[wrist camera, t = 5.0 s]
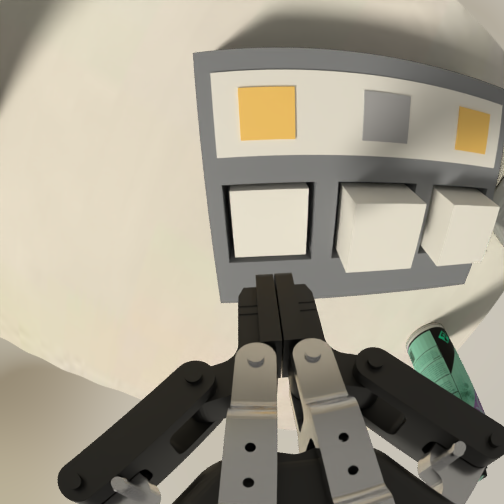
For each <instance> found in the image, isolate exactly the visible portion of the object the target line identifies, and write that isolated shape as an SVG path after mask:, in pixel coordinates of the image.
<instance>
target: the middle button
mask: <svg viewBox="0 0 504 504" xmlns="http://www.w3.org/2000/svg"><path fill="white" fill-rule="evenodd" d="M426 205H427V204H426V203H425V202H424V201H423V200H422V199H421V198H420V197H418V196H417V195H416V194H415V193H414V192H413V191H412V190H411V189H410V188H408V187H407V186H406V185H405V184H392V183H340V194H339V206H338V217H337V227H336V236H335V248H336V250H337V252H338V255H339V257H340V259H341V262H342V264H343V267H344V269H345V271H346V273H351V272H367V271H381V270H395V269H409V268H411V265H412V262H413V258H414V255H415V251H416V247H417V243H418V239H419V235H420V231H421V227H422V223H423V219H424V214H425V210H426Z"/></svg>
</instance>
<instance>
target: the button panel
mask: <svg viewBox="0 0 504 504" xmlns="http://www.w3.org/2000/svg"><path fill="white" fill-rule="evenodd" d="M193 61H194V74H195V87H196V99H197V110H198V121H199V131H200V141H201V151H202V161H203V170H204V179H205V188H206V196H207V204H208V213H209V221H210V228H211V236H212V244H213V251H214V258H215V266H216V273H217V280H218V287H219V293H220V300H221V303H237V302H238V296H239V294H240V293H241V291H242V289H243V288H248V287H256V277H255V275H259V274H273V278H274V273H290V272H291V273H292V276H293V280H294V284H306V286H307V287H308V288H309V289H310V290H311V291H312V293H313V297H314V299H316V298H331V297H344V296H357V295H368V294H379V293H390V292H400V291H410V290H419V289H428V288H436V287H444V286H452V285H460V284H464V283H465V281H466V278H467V276H468V273H469V271H470V268H471V266H472V263H468V264H457V265H446V266H436V265H435V263H434V262H433V261H432V259H431V258H430V257H429V255H428V254H427V253H426V251H425V250H424V249H423V248H422V246H421V245H420V242H421V238H422V235H423V231H424V226H425V222H426V218H427V213H428V209H429V204H430V199H431V194H432V189H433V185H437V186H452V187H466V188H476V189H477V190H479V191H480V192H481V193H483V194H484V195H485V196H487V197H488V198H489V199H491V200H493V196H494V192H495V187H496V183H497V179H498V174H499V169H500V164H501V159H502V153H503V147H504V89H503V88H500V87H498V86H495V85H492V84H490V83H487V82H484V81H481V80H478V79H475V78H472V77H469V76H466V75H463V74H460V73H456V72H453V71H449V70H446V69H442V68H438V67H434V66H430V65H426V64H422V63H418V62H413V61H408V60H403V59H398V58H393V57H387V56H381V55H375V54H368V53H360V52H351V51H342V50H330V49H316V48H286V47H271V48H241V49H226V50H215V51H205V52H196V53H193ZM284 182H306V184H307V186H308V188H309V194H308V219H307V239H306V254H301V255H279V256H256V257H235V250H234V239H233V228H232V216H231V205H230V193H229V191H230V185H236V184H257V183H284ZM340 183H392V184H405V185H406V186H407V187H408V188H410V189H411V190H412V191H413V192H414V193H415V194H416V195H417V196H418V197H420V198H421V199H422V200H423V201H424V202H425V203H426V204H427V205H426V210H425V214H424V219H423V223H422V227H421V231H420V235H419V239H418V243H417V247H416V251H415V255H414V258H413V262H412V265H411V268H409V269H395V270H381V271H367V272H351V273H346V271H345V269H344V267H343V264H342V262H341V259H340V257H339V255H338V252H337V250H336V248H335V236H336V227H337V217H338V206H339V194H340Z"/></svg>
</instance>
